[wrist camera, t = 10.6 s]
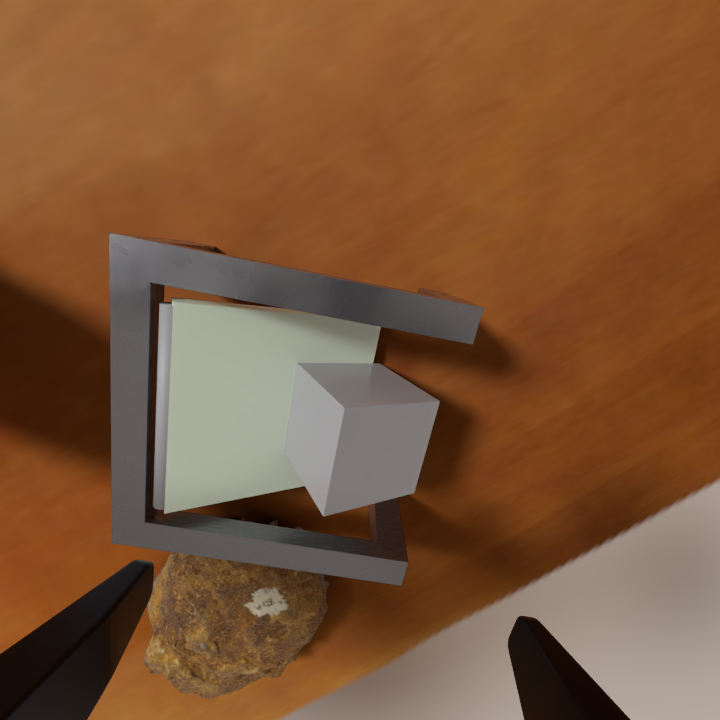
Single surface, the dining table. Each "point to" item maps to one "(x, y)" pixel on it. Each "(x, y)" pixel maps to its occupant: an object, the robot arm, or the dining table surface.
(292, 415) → the gray cube
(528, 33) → the dining table surface
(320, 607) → the decorative rock
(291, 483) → the trapdoor
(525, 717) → the robot arm
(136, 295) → the frame
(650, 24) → the dining table surface
